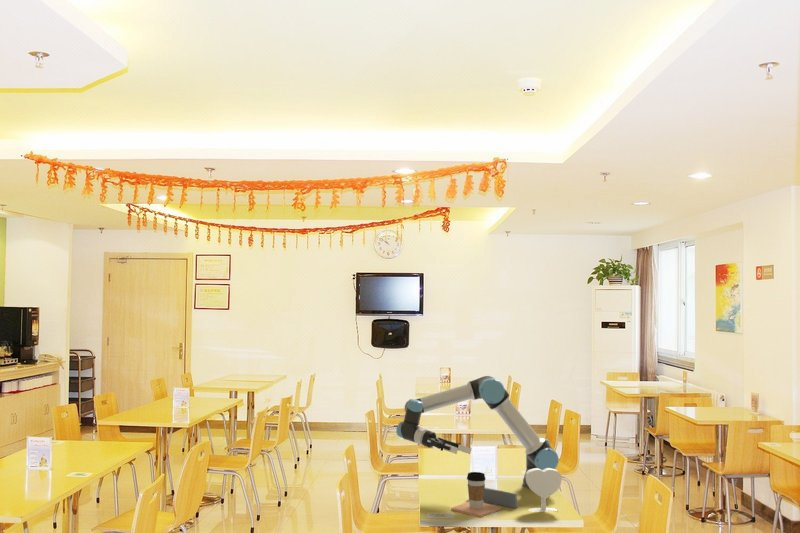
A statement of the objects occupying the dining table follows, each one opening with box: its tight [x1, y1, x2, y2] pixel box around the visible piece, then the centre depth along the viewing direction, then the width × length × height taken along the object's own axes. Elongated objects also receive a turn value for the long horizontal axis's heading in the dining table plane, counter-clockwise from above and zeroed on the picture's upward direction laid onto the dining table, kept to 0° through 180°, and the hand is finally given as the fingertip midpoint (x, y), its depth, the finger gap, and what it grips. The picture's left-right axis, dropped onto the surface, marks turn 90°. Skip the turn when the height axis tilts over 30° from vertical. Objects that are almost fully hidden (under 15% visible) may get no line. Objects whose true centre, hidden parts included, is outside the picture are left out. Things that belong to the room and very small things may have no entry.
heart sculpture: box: [524, 468, 562, 513], centre depth 303 cm, size 16×5×18 cm, turn 93°
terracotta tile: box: [450, 500, 502, 518], centre depth 302 cm, size 16×16×1 cm
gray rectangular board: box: [483, 487, 518, 509], centre depth 313 cm, size 2×24×6 cm, turn 50°
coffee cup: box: [466, 471, 486, 509], centre depth 303 cm, size 8×8×15 cm
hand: (463, 451), depth 314 cm, fingers open, 13 cm apart
